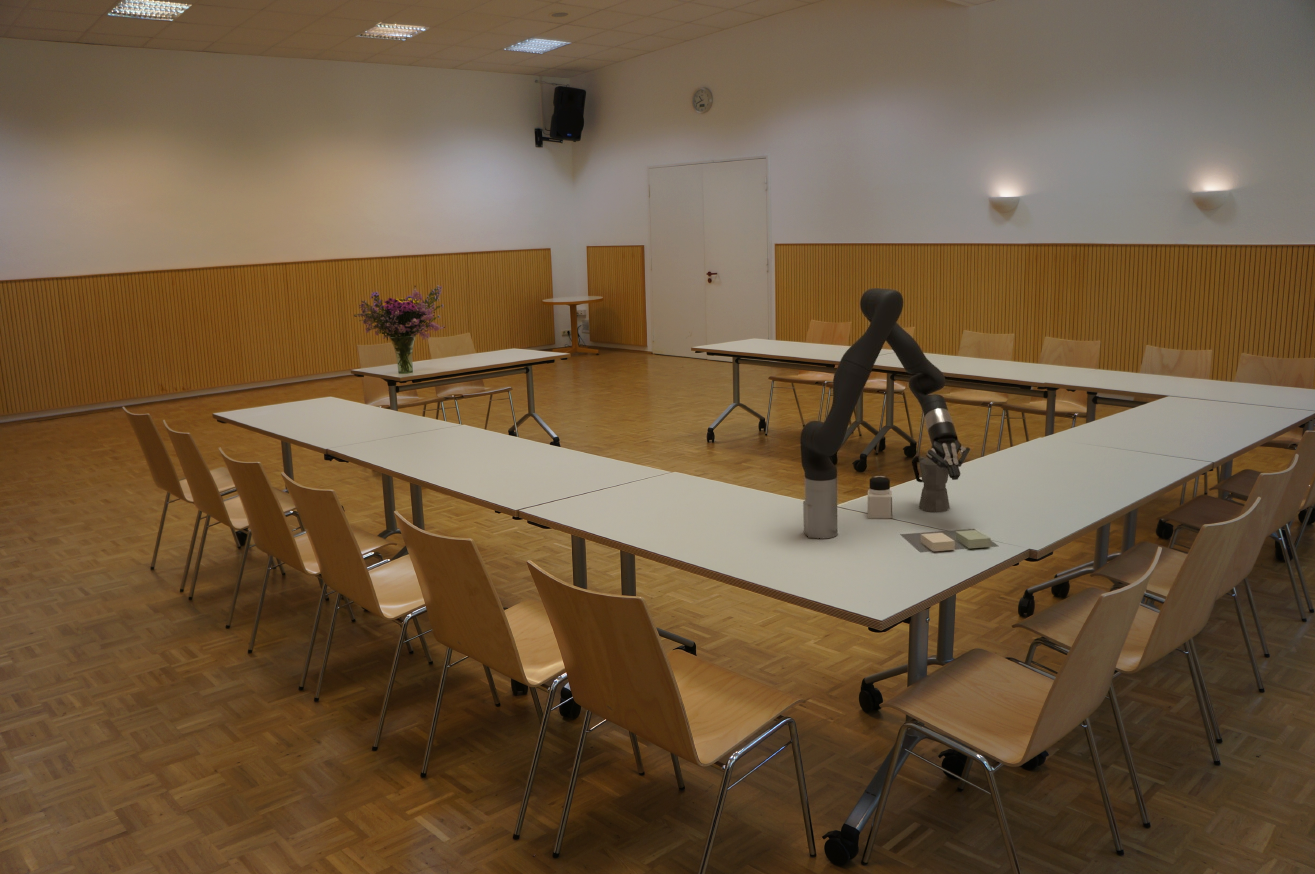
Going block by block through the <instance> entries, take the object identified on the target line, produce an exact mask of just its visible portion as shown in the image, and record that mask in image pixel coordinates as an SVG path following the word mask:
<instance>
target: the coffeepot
mask: <svg viewBox="0 0 1315 874" xmlns="http://www.w3.org/2000/svg"><path fill="white" fill-rule="evenodd" d="M918 463H919V469H918ZM911 466H912V470H913V474H914V477H915V479H916V482H917V483H918V482H919V483H923V487H922V489H921V494H920V500H919V504H918V508H919V509H920V510H921V511H924V512H928V513H943V512H947V511H949V509H950V507H951V506H950V502H949V501H950V499H949V495H948V488H947V483H948V479H949V474H948V470H947V469H946V468H944V467H943V468H940V467H939V466H938V465H937V464H935V463H934V462H933V461H932V460H930V459H929V458H928V457H923V456H919V455H917V456H914V458H913V459H911ZM920 477H921V478H920Z"/></svg>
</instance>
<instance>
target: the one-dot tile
mask: <svg viewBox="0 0 1315 874" xmlns="http://www.w3.org/2000/svg"><path fill="white" fill-rule="evenodd" d="M956 540H957V541H958V542H960V543H961V544H963V545H964V546H966V547H968V548H971V549H980V548H982V547H984V548H992V547H991V541H992V539H991V537H989V536H987V535H986V534H984V533H982V532H981V531H979V530H978V529H975V530H969V531H956ZM982 549H983V548H982Z"/></svg>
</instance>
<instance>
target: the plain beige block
mask: <svg viewBox="0 0 1315 874" xmlns="http://www.w3.org/2000/svg"><path fill="white" fill-rule="evenodd" d="M921 543H922V544H923V545H925V546H926V547H928V548H929V549H931V550H932V552H943V551H944V552H945V551H956V550H955V541H954V540H952V539H951V538H949V537H948V536H946V535H945V534H943V533H931V534H921Z"/></svg>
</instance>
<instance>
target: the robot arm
mask: <svg viewBox="0 0 1315 874" xmlns="http://www.w3.org/2000/svg"><path fill="white" fill-rule="evenodd" d="M859 308H860V310H861V313H862V314H863V316H864V317H865V318H866V320H868V321H869V325H868V327H867V329H866V330H865V332H864V333H863V334H862V336H860V337H859V338H858V339H857V340H856V341H855V342H854V343H853V344H852V345H850V347H849V348H848V349H846V350H845V352H844V354H843V355H842V357H841V359H840V361H839V363H838V366H837V368H836V370H835V372H834V374H833V380H832V404H831V407H830V410H829V413H828V414H827V415H826V416H827V417H826V418H825V421H819V420H811V421H808V422H807V423H805V424H804V426H803V428H802V430H801V433H800V438H799V439H800V441H799V442H800V443H799V444H800V456H801V457H800V458H801V459H800V460H801V467H802V469H803V472H804V500H803V503H802V504H803V505H802V507H803V508H802V511H803V514H802V515H803V516H802V517H803V520H802V521H803V533H804V534H805V535H806V537H807V536H808V537H807V539H819V538H820V540H821V539H832V538H834V537H836V536H837V535H838V528H839V526H838V468H837V466H836V465H835V464H834V462H833V461H831V458H830V457H831V456H834V455H836V453H838V451H839V450H840V449H841V447H842V444H843V443H844V439H845V438H846V434H847V431H848V428H849V424H850V422H851V419H852V416H853V413H854V411H855V409H856V407H857V404H858V402H859V399H860V397H861V395H862V393H863V390H864V388H865V386H866V385H867V382H868V380H869V378H870V376H871V374H872V371H873V368H874V365H875V364H876V361H877V359H878V357H879V355H880V353H881V351H882V349H883V347H884V345H885V343H887V344H888V346H889V347H890V348H891V349H892V351H893V352H894V354H895V355H896V357H897V359H898V361H899V363H900V364H901V366H902V367H903V369H904V371H905V372H906V373H908V374H910V375H912V376H911V377H910V378H909V380H908V388H909V390H910V392H911V393H912V394H913V396H914V397H915V399H917V402H918V403H919V405H920V407H921V410H922V413H923V416H924V421H925V427H926V430H927V433H928V437H929V439H930V444H931V448H930V449H928V450H927V451H926V454H925V456H926V458H927V459H928V458H929V459H930V460H932V461H933V462H934V463H935V464H937V465H938V466H939V467H940V468H943V467H944V468H946V469H947V470H948V474H949V475H948V478H949V479H951V480H952V481H955V480H959V478H960V477H961V471H960V468H959V467H962V465H963V464H964V462H965V460H966V458H967V456H968V454H969V452H970V450H971V448H970V447H969V446H967V447H964V446H962V443H961V442H960V441H959V438H958V435H957V430H956V428H955V425H954V422H953V421H954V420H953V418H952V416H951V414H950V412H949V409H948V406H947V405H948V404H947V403H946V399H945V397H944V396H943V395H941V394H936V392H938V391H940V390H942V389H944V387H945V386H946V378H945V374H944V373H943V372H942V370H940V369H939V368H938V367H937V366H936V365H934V364H933V363H932V362H931V361H930V360H929V359H928V358H927V357H926V354H925V353H924V351H923V350H922V348H921V346H920V345H919V343H918V342H917V340H915V338H914V337H912V336H911V334H910V333H908V332H907V331H906V330H905V329H904V328H903V327H901V325H900V324H899V323H897V322H898V321H899V318H900V316H901V314H902V312H903V308H904V298H903V295H902V293H901V292H900V291H899V290H896V289H890V288H878V287H876V288H869V289H867V290H865V292H863V293H862V295H861V298H860V302H859ZM934 393H935V394H934ZM958 454H960V455H961V456H960V458H959V459H958Z"/></svg>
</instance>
